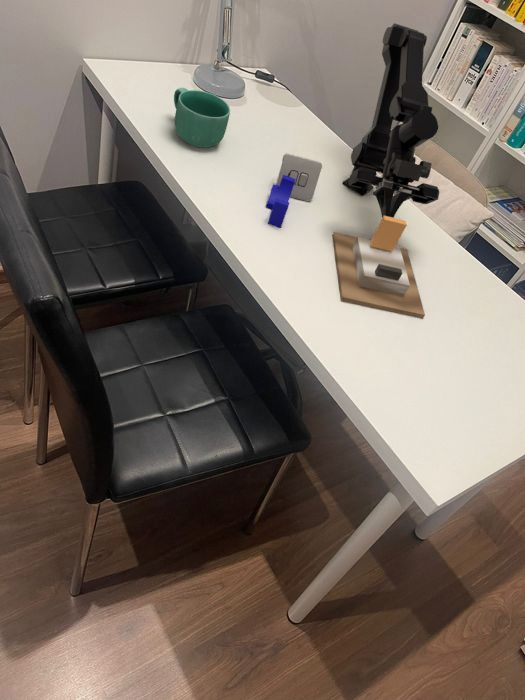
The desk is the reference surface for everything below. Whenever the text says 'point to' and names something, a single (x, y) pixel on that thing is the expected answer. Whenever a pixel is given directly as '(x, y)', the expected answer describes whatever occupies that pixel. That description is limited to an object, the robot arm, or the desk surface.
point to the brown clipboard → (376, 276)
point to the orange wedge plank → (388, 233)
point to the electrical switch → (300, 175)
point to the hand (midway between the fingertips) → (386, 225)
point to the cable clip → (280, 200)
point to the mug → (200, 117)
